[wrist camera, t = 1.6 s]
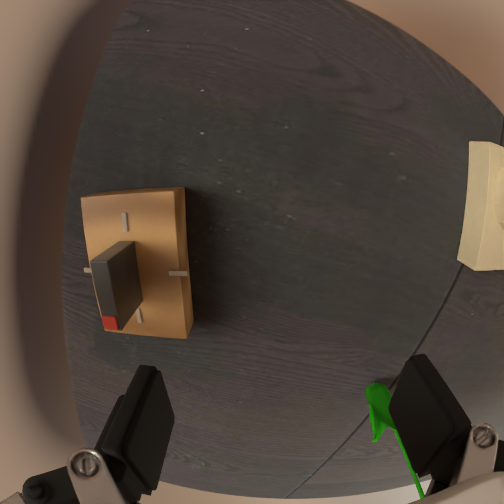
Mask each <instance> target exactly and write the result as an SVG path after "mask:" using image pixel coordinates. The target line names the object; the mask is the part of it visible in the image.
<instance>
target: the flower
mask: <svg viewBox="0 0 504 504" xmlns="http://www.w3.org/2000/svg"><path fill="white" fill-rule="evenodd" d="M366 398H367V401H368V402H369V404H370V421H371V426H372V430H373V437H374V438H373V440H372V442H375V441H378V439H379V438H380V436H381V435H382V433H383V432H384V430H385V428H386V426H388V427H390V428H391V429H393V430H394V433H395V435H396V437H397V440H398V442H399V444H400V447H401V449H402V451H403V454H404V456H405V458H406V461H407V463H408V466H409V468H410V471H411V474H412V476H413V479H414V481H415V484H416V487H417V490H418V492H419V495H420V498H421V499H422V498H424V497H425V495H424V493H423V491H422V488H421V485H420V483H419V481H418V478H417V476H416V473H415V472H414V471H413V469H412V467H411V464H410V461H409V459H408V456H407V454H406V451H405V449H404V446H403V444H402V442H401V439H400V437H399V434H398V432H397V430H396V427H395V425H394V423H393V420H392V418H391V416H390V413H389V409H388V407H389V403H390V401H391V398H392V396H391V393H390V391H389V389H388V388H387V387H386V386H385V385H384V384H382V383H376V382H373V384H372V385H370V386H368V387H367V388H366Z"/></svg>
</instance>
